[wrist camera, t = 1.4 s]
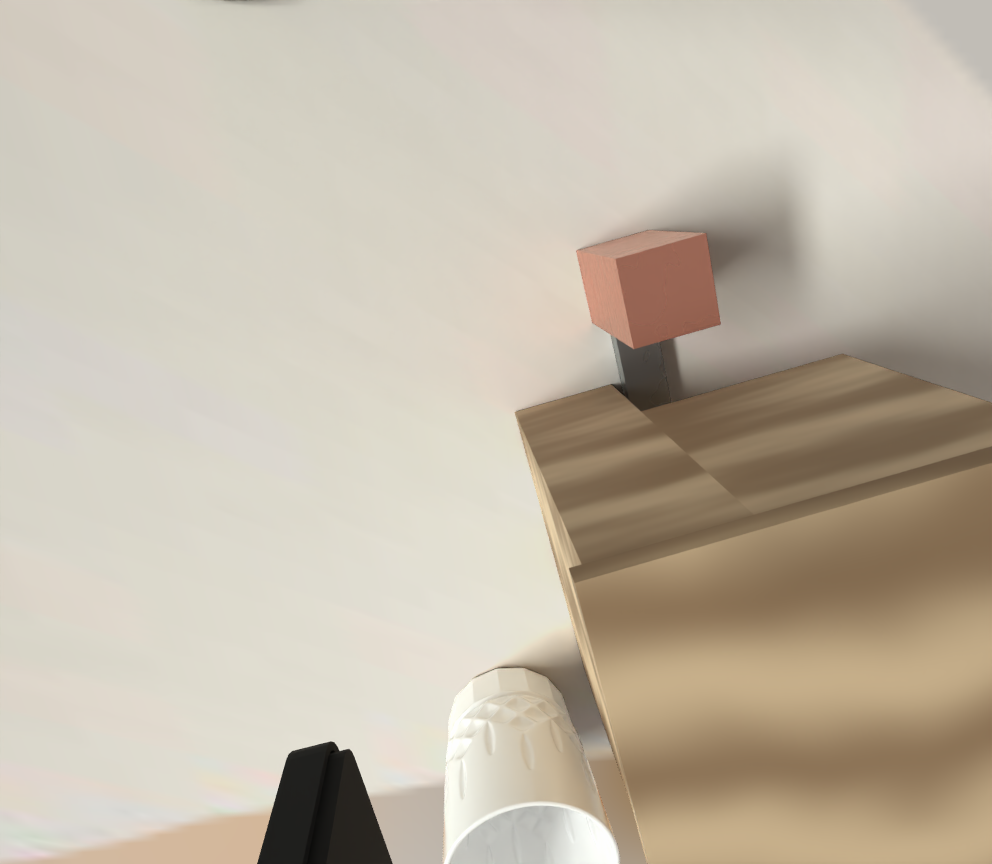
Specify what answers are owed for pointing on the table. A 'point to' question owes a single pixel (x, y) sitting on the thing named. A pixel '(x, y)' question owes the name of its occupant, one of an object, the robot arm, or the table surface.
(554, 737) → the white cup
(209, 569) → the table surface
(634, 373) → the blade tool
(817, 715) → the oak bench cabinet
